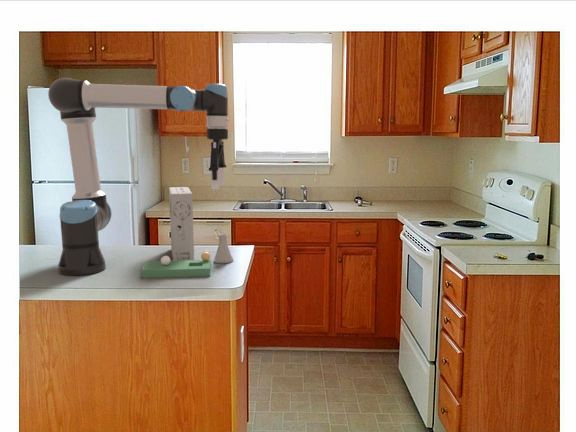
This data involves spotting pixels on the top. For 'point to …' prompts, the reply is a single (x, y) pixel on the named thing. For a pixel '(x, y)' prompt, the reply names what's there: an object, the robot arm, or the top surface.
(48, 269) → the top surface
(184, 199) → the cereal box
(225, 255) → the flask
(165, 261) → the ball
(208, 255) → the orange ball
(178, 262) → the green
